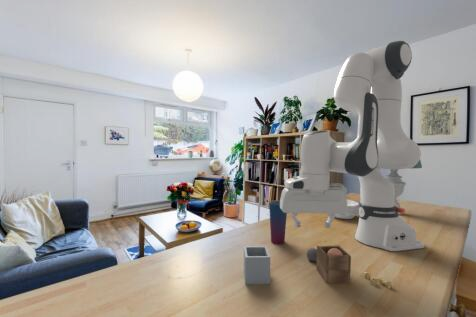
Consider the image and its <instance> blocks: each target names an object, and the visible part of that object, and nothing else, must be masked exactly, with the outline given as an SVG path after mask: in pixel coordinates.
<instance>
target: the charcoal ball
mask: <svg viewBox="0 0 476 317" xmlns="http://www.w3.org/2000/svg"><path fill="white" fill-rule="evenodd" d="M306 258H307V259H308V261H311V262H313V263H314V262H316V263H317V248H315V247H310V248H308V249H307V251H306Z"/></svg>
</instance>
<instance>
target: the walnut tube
mask: <svg viewBox="0 0 476 317" xmlns="http://www.w3.org/2000/svg"><path fill="white" fill-rule="evenodd" d="M332 248H336V249H338V250H340V251H341V252H342V254H343V255H327V253H328V251H329V250H330V249H332ZM316 249H317V261H316V271H317V273H318V275H320V277H321V278H322V279H323V281H324V283H325V284H351V271H352V270H351V268H352V266H351V265H352V264H351V262H352V256H351V255H350V254H349V253H348V252H347V251H346V250H345V249H344V248H343V247H341V246H340V245H316Z"/></svg>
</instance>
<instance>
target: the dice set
mask: <svg viewBox="0 0 476 317" xmlns="http://www.w3.org/2000/svg"><path fill="white" fill-rule="evenodd" d="M363 278H365V279H366V280H369V284H370V285H371V286H377V283H378V284H379V285H384V287H385V288H387V289H392V282H391V281H390V280H384V279H383V277H381V276H376V277H375V276H373V277H371V273H370V272H368V271H364V273H363Z"/></svg>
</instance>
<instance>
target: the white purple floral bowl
mask: <svg viewBox="0 0 476 317" xmlns="http://www.w3.org/2000/svg"><path fill="white" fill-rule="evenodd" d="M356 215H359V202H357V201H354V200H350V199H347V212H346V213H345V214H335V218H337V219H341V220H351V219H354V217H355V216H356Z"/></svg>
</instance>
